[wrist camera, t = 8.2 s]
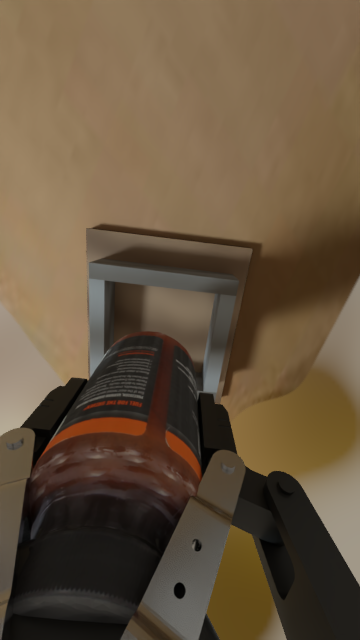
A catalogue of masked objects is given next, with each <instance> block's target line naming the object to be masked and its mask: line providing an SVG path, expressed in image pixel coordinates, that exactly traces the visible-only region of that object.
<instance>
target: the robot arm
mask: <svg viewBox="0 0 360 640" xmlns="http://www.w3.org/2000/svg"><path fill="white" fill-rule="evenodd" d="M87 382H88V381H87V379H82V378H71V379H70V380H69V381H68V383H67V384H66V385H65V386H59V387H57V388H56V389H54V390H52V391H51V392H50V393H49V394H48V395H47V397H46V398H45V399H44V400H43V401H42V402H41V404H40V405H39V406H38V407H37V408H36V409H35V411H34V412H33V413H32V414H31V415H30V417H29V418H28V419H27V420H26V421H25V422H24V424H23V425H22V426H21V427H20V428H17V429H13V430H10V431H8V432H6V433H5V434H3V435H2V436H1V437H0V640H220V639H219V637H218V636H217V633H216V631H215V629H214V627H213V626H212V624H211V622H210V620H209V618H208V616H207V614H206V611H207V607H208V604H209V600H210V597H211V593H212V589H213V586H214V582H215V579H216V575H217V572H218V568H219V565H220V561H221V558H222V554H223V550H224V547H225V543H226V540H227V536H228V532H229V529H230V525H234V526H236V527H238V528H240V529H242V530H244V531H246V532H248V533H250V534H252V536H253V539H254V542H255V545H256V548H257V551H258V554H259V557H260V560H261V563H262V566H263V569H264V572H265V575H266V578H267V581H268V584H269V587H270V590H271V593H272V596H273V599H274V602H275V605H276V608H277V611H278V614H279V617H280V620H281V623H282V626H283V629H284V632H285V635H286V638H287V640H360V586H359V584H358V582H357V581H356V579H355V577H354V576H353V574H352V572H351V571H350V569H349V567H348V565H347V564H346V562H345V560H344V559H343V557H342V555H341V553H340V552H339V550H338V548H337V546H336V545H335V543H334V541H333V540H332V538H331V536H330V534H329V533H328V531H327V529H326V528H325V526H324V524H323V523H322V521H321V519H320V517H319V516H318V514H317V512H316V510H315V509H314V507H313V505H312V504H311V502H310V500H309V498H308V497H307V495H306V493H305V492H304V490H303V488H302V487H301V485H300V484H299V483H298V481H297V480H296V479H294V478H293V477H292V476H290V475H289V474H287V473H284V472H281V471H273V472H271V473H270V474H269V475H268V477H266V476H263V475H261V474H259V473H256V472H254V471H252V470H250V469H249V468H247V467H246V466H245V464H244V462H243V460H242V459H241V458H240V457H239V456H238V455H237V451H236V447H235V442H234V438H233V433H232V429H231V424H230V422H229V415H228V412H227V410H226V409H225V408H224V406H223V405H221V404H215V402H214V395H213V394H211V393H202V392H199V395H198V416H199V431H200V446H201V462H202V480H201V482H200V484H199V487H198V493H197V495H196V496H194V495H192V496H191V497H190V499H189V501H188V503H187V505H186V507H185V510H184V512H183V514H182V516H181V518H180V520H179V522H178V524H177V527H176V529H175V531H174V533H173V535H172V537H171V539H170V541H169V543H168V546H167V548H166V550H165V552H162V551H161V552H162V558H161V560H160V563H159V565H158V567H157V569H156V571H155V573H154V575H153V577H152V579H151V582H150V584H149V586H148V588H147V590H146V592H145V594H144V596H143V599H142V601H141V603H140V605H139V607H138V608H137V610H136V612H135V613H134V615H133V616H132V618H131V620H130V621H129V623H128V624H116V623H100V622H86V621H72V620H59V619H50V618H40V617H30V616H21V615H17V614H14V613H13V609H14V607H13V606H14V596H15V591H16V585H17V579H18V577H19V575H20V572H21V570H22V568H23V565H24V563H25V562H26V560H27V558H28V556H29V553H30V551H29V545H30V544H31V543H33V542H34V541H35V540H36V539H37V538H39V536H40V534H41V532H42V527H41V529H40V531H39V533H38V535H37V537H36V538H35V539H31V528H32V523H31V516H30V504H29V482H30V476H31V472H32V470H33V469H34V467H35V465H36V463H37V461H38V460H39V458H40V456H41V455H42V453H43V452H44V450H45V449H46V447H47V445H48V444H49V442H50V440H51V439H52V437H53V436H54V434H55V433H56V431H57V429H58V428H59V426H60V425H61V423H62V421H63V420H64V418H65V417H66V415H67V413H68V412H69V410H70V409H71V407H72V406H73V404H74V402H75V401H76V399H77V398H78V396H79V395H80V393H81V391H82V390H83V388H84V386H85V385H86V383H87ZM30 539H31V540H30ZM158 544H159V539H156V545H157V547H158Z"/></svg>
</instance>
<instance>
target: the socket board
mask: <svg viewBox="0 0 360 640" xmlns="http://www.w3.org/2000/svg"><path fill="white" fill-rule="evenodd" d="M86 240H87V302H88V363H89V379H90V377H91V376H92V374H93V373H94V371H95V369H96V368H97V366H98V365H99V363H100V362H101V360H102V359H103V357H104V355H105V354H106V353H107V351H108V350H109V349H110V348H111V346H112V345H113V344H114V343H115V342H116V341H118V340H119V339H121V338H122V337H124V336H126V335H129V334H131V333H135V332H142V331H151V332H159V333H162V334H165V335H167V336H169V337H171V338H173V339H175V340H176V341H178V342H179V343H180V344H181V345H182V346H183V347H184V348H185V349H186V350H187V351H188V353H189V355H190V356H191V358H192V361H193V364H194V368H195V374H196V386H197V400H198V395H199V392H202V393H211V394H213V395H214V402H215V403H218V404H220V401H221V397H222V392H223V387H224V382H225V378H226V373H227V368H228V363H229V359H230V354H231V349H232V345H233V340H234V335H235V330H236V326H237V321H238V316H239V312H240V307H241V302H242V297H243V293H244V288H245V283H246V279H247V274H248V269H249V264H250V260H251V255H252V250H253V249H252V248H245V247H237V246H229V245H221V244H213V243H205V242H197V241H189V240H181V239H173V238H164V237H156V236H148V235H140V234H132V233H124V232H116V231H108V230H100V229H92V228H86Z"/></svg>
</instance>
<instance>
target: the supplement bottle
mask: <svg viewBox="0 0 360 640" xmlns="http://www.w3.org/2000/svg"><path fill="white" fill-rule="evenodd" d="M201 480H202V462H201V446H200V431H199V416H198V400H197V386H196V374H195V368H194V364H193V361H192V358H191V356H190V355H189V353H188V351H187V350H186V349H185V348H184V347H183V346H182V345H181V344H180V343H179V342H178V341H176V340H175V339H173V338H171V337H169V336H167V335H165V334H162V333H159V332H151V331H142V332H135V333H131V334H129V335H126V336H124V337H122V338H121V339H119V340H118V341H116V342H115V343H114V344H113V345H112V346H111V348H110V349H109V350H108V351H107V353H106V354H105V355H104V357H103V359H102V360H101V362H100V363H99V365H98V366H97V368H96V369H95V371H94V373H93V374H92V376H91V377H90V379H89V380H88V382H87V383H86V385H85V386H84V388H83V390H82V391H81V393H80V395H79V396H78V398H77V399H76V401H75V402H74V404H73V406H72V407H71V409H70V410H69V412H68V413H67V415H66V417H65V418H64V420H63V421H62V423H61V425H60V426H59V428H58V429H57V431H56V433H55V434H54V436H53V437H52V439H51V440H50V442H49V444H48V445H47V447H46V449H45V450H44V452H43V453H42V455H41V456H40V458H39V460H38V461H37V463H36V465H35V467H34V469H33V470H32V472H31V476H30V482H29V504H30V516H31V523H32V528H31V539H35V538H36V537H37V535H38V533H39V531H40V529H41V527H42V532H41V534H40V536H39V538H37V539H36V540H35V541H34V542H33V543H31V544H30V545H29V551H30V553H29V556H28V558H27V560H26V562H25V563H24V565H23V568H22V570H21V572H20V575H19V577H18V579H17V585H16V591H15V596H14V606H13V607H14V609H13V613H14V614H17V615H21V616H30V617H40V618H50V619H59V620H72V621H86V622H100V623H116V624H128V623H129V621H130V620H131V618H132V616H133V615H134V613H135V612H136V610H137V608H138V607H139V605H140V603H141V601H142V599H143V596H144V594H145V592H146V590H147V588H148V586H149V584H150V582H151V579H152V577H153V575H154V573H155V571H156V569H157V567H158V565H159V563H160V560H161V558H162V552H165V550H166V548H167V546H168V543H169V541H170V539H171V537H172V535H173V533H174V531H175V529H176V527H177V524H178V522H179V520H180V518H181V516H182V514H183V512H184V510H185V507H186V505H187V503H188V501H189V499H190V497H191V496H192V495H194V496H196V495H197V493H198V487H199V484H200V482H201ZM31 539H30V540H31ZM156 539H159V544H158V547H157V545H156ZM161 551H162V552H161Z"/></svg>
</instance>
